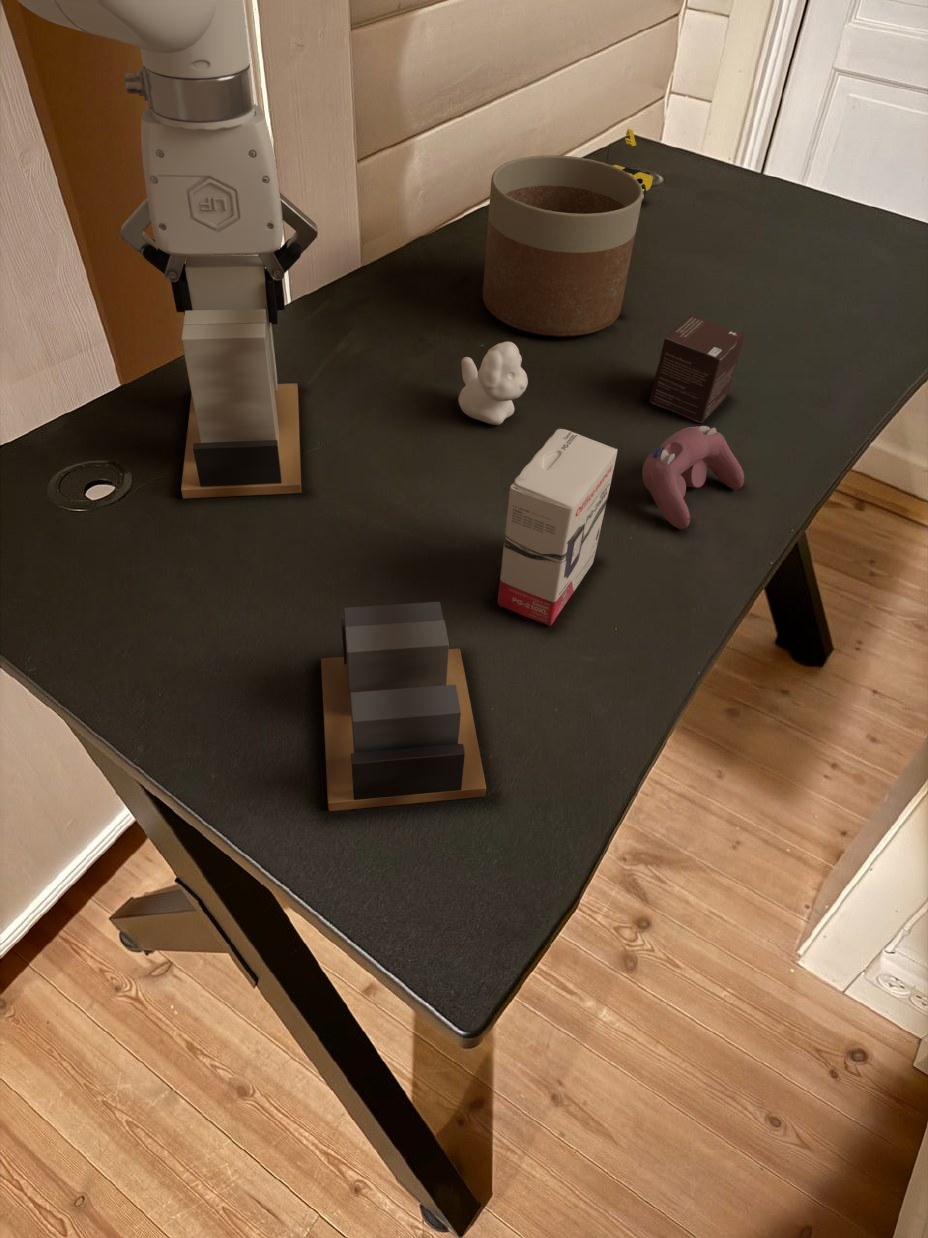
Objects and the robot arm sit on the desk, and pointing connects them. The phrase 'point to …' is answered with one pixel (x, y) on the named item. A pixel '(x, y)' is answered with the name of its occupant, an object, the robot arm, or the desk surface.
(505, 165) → the planter
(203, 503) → the desk surface
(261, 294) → the white book
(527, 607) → the ink box
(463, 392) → the figurine
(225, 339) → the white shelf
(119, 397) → the desk surface
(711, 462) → the video game controller
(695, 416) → the box
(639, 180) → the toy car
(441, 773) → the grey shelf
